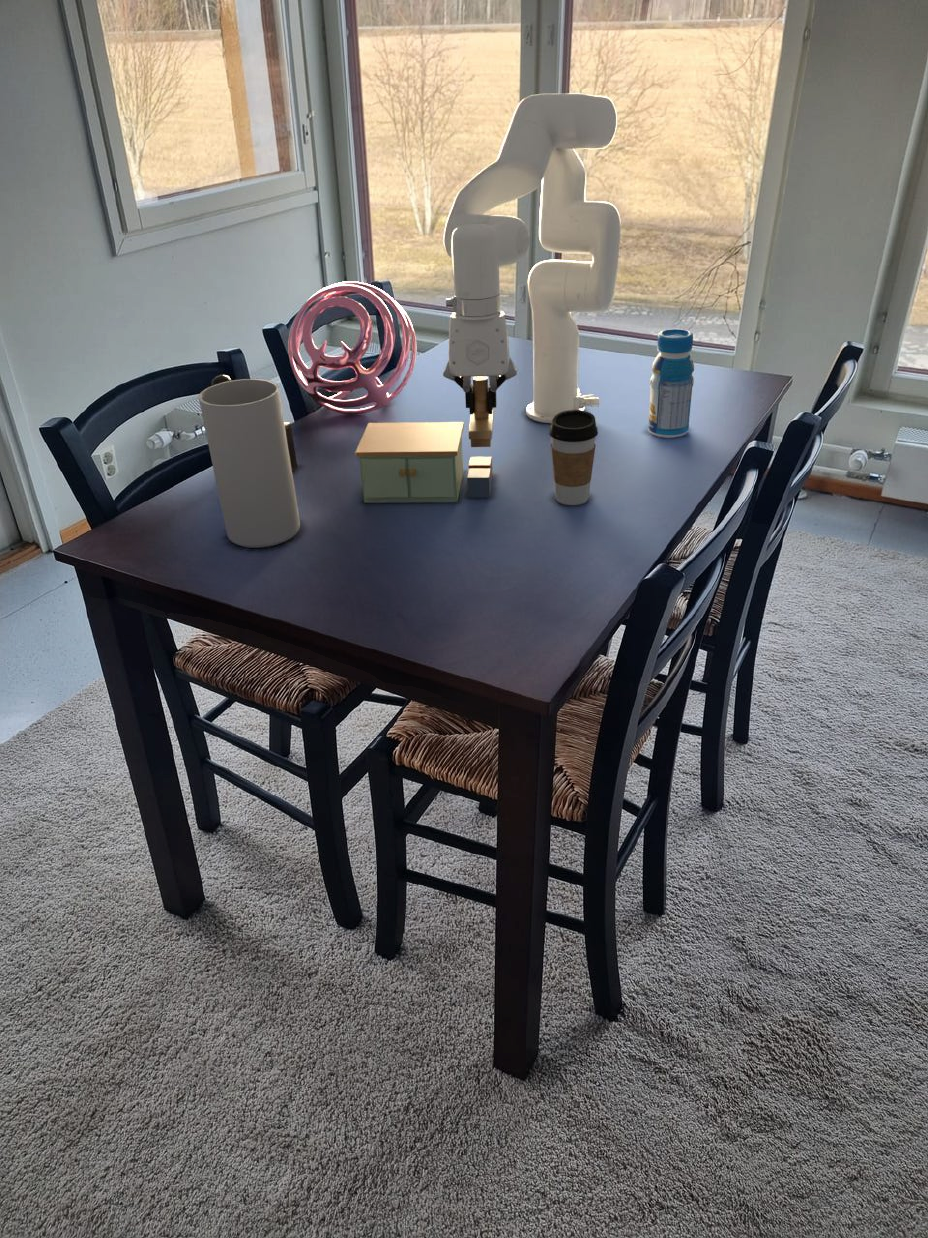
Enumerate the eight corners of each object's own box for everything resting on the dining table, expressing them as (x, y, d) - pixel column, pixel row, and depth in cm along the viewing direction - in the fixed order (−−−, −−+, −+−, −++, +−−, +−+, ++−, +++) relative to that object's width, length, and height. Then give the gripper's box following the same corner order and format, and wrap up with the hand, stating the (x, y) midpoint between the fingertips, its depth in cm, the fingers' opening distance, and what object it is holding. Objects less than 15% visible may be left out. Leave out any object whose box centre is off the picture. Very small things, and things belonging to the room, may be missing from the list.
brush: (494, 418, 172) (492, 365, 167) (492, 447, 161) (490, 391, 156) (472, 419, 173) (470, 366, 167) (469, 447, 162) (466, 391, 156)
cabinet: (466, 471, 179) (463, 421, 173) (459, 505, 166) (456, 453, 161) (373, 471, 181) (368, 422, 175) (360, 505, 168) (354, 454, 163)
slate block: (470, 488, 172) (491, 488, 172) (467, 497, 169) (489, 497, 169) (469, 468, 170) (491, 468, 170) (466, 477, 167) (489, 477, 166)
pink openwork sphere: (335, 292, 220) (296, 245, 194) (445, 327, 216) (419, 283, 189) (296, 405, 222) (251, 373, 195) (404, 442, 217) (373, 414, 190)
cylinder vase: (267, 556, 154) (240, 410, 140) (212, 539, 160) (181, 398, 146) (315, 525, 163) (294, 385, 149) (262, 510, 168) (237, 374, 155)
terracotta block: (471, 476, 177) (492, 476, 176) (469, 485, 173) (490, 485, 173) (470, 456, 175) (491, 456, 174) (468, 465, 171) (490, 465, 171)
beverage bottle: (671, 442, 186) (679, 342, 175) (638, 431, 191) (644, 333, 181) (697, 430, 190) (707, 332, 180) (664, 420, 196) (671, 324, 185)
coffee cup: (600, 490, 169) (603, 411, 161) (589, 510, 162) (592, 429, 154) (555, 485, 172) (555, 407, 163) (543, 505, 165) (543, 424, 157)
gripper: (426, 312, 152) (433, 419, 162) (525, 310, 151) (526, 418, 161) (431, 300, 159) (438, 404, 169) (526, 298, 157) (527, 403, 167)
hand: (481, 410), depth 165 cm, fingers closed on brush, 2 cm apart
